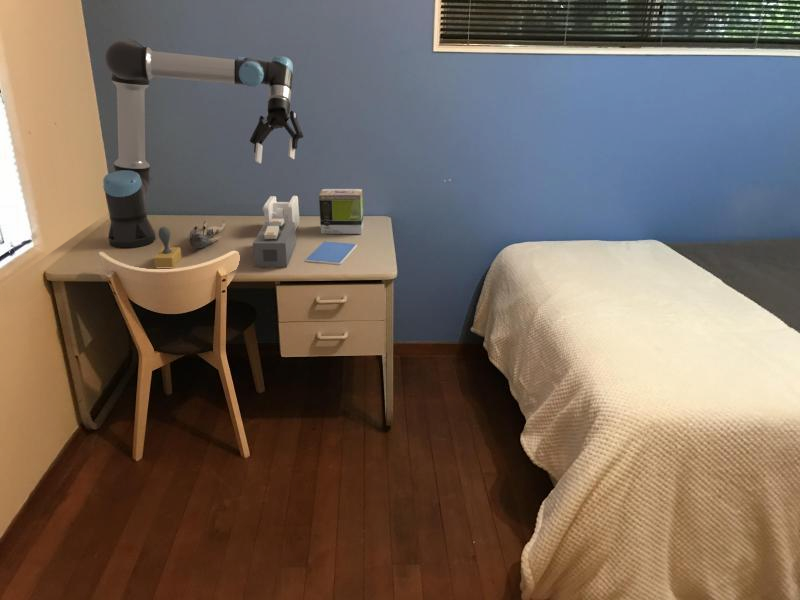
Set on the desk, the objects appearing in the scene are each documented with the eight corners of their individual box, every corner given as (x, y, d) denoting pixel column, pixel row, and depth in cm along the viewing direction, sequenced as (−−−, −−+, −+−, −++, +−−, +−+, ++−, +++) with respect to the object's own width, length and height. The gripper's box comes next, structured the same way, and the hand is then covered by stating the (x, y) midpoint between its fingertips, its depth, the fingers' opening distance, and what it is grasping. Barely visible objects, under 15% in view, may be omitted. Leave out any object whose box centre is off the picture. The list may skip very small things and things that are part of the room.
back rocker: (270, 226, 201) (269, 221, 200) (273, 223, 207) (273, 218, 206) (281, 226, 201) (280, 221, 200) (284, 223, 207) (284, 218, 206)
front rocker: (264, 239, 191) (264, 234, 191) (268, 230, 197) (267, 225, 196) (276, 239, 192) (275, 234, 191) (279, 230, 197) (278, 225, 196)
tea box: (363, 226, 232) (363, 188, 226) (361, 235, 223) (360, 195, 217) (323, 226, 232) (322, 187, 226) (320, 234, 223) (318, 194, 217)
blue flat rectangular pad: (340, 266, 195) (340, 263, 194) (303, 263, 198) (303, 259, 197) (358, 247, 212) (358, 243, 212) (323, 244, 215) (323, 240, 214)
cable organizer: (293, 236, 220) (291, 205, 215) (264, 236, 220) (261, 205, 215) (300, 224, 234) (298, 194, 229) (272, 224, 234) (269, 194, 229)
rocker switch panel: (254, 268, 192) (252, 243, 188) (267, 244, 212) (265, 221, 209) (286, 268, 192) (285, 243, 189) (296, 244, 212) (294, 221, 209)
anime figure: (227, 215, 227) (209, 230, 199) (228, 235, 229) (211, 252, 201) (200, 216, 227) (179, 230, 198) (202, 235, 229) (181, 253, 200)
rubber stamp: (173, 268, 191) (168, 231, 186) (154, 269, 190) (148, 232, 185) (182, 257, 200) (177, 222, 195) (164, 257, 199) (158, 222, 195)
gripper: (316, 101, 211) (311, 160, 208) (256, 111, 221) (251, 167, 218) (304, 91, 204) (299, 151, 201) (243, 102, 214) (237, 160, 211)
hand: (274, 160), depth 209 cm, fingers open, 13 cm apart
